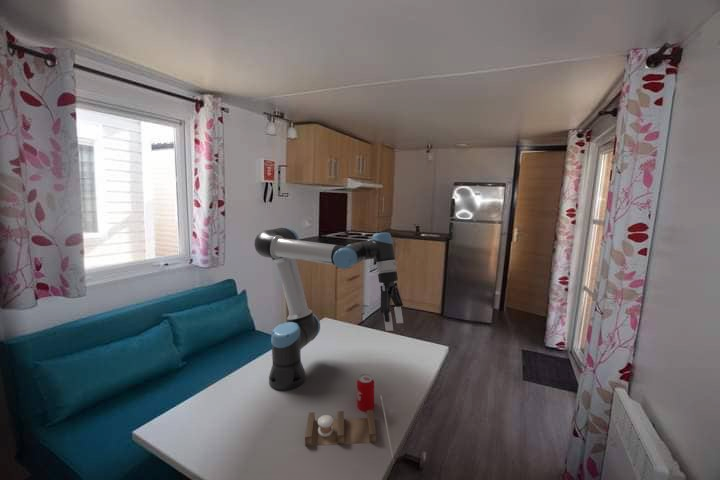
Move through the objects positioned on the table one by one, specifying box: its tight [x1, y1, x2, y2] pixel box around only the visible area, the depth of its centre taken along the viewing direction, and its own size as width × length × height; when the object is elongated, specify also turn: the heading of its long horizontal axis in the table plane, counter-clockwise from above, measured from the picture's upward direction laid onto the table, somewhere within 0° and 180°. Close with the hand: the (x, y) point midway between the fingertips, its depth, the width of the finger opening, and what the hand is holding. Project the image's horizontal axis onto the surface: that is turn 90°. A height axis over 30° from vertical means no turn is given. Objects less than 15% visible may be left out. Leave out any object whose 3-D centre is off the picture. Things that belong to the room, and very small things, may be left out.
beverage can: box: [356, 373, 375, 413], centre depth 114 cm, size 6×6×12 cm
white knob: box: [317, 414, 334, 437], centre depth 101 cm, size 5×5×4 cm
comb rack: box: [304, 409, 377, 447], centre depth 102 cm, size 22×11×4 cm, turn 93°
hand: (395, 326), depth 120 cm, fingers open, 13 cm apart
